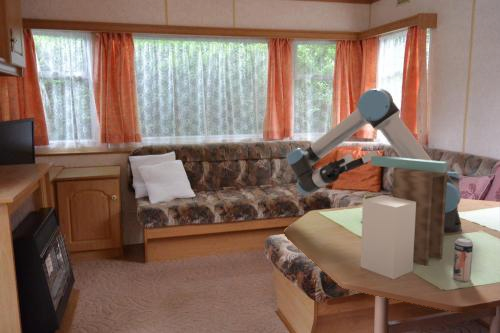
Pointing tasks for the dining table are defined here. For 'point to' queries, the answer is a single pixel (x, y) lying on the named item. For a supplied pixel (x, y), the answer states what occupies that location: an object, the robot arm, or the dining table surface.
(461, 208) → the dining table surface
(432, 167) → the bar
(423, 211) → the tall wooden grooved block
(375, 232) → the pillar
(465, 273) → the beer can
